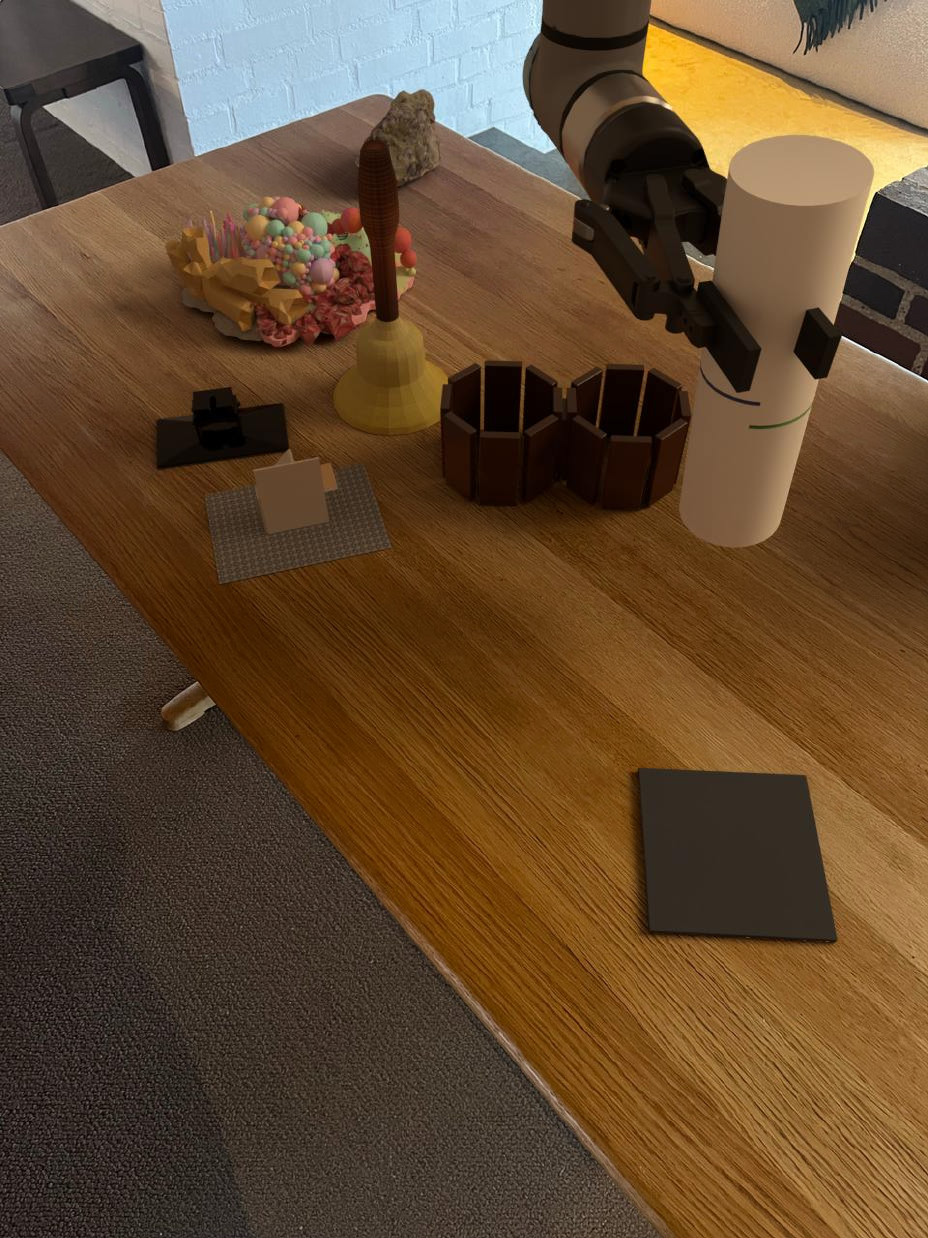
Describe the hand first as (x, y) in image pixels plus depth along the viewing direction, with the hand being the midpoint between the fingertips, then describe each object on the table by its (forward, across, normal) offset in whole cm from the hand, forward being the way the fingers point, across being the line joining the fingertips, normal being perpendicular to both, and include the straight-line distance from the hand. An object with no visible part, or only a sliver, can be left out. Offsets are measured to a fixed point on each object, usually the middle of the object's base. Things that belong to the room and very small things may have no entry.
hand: (788, 363), depth 51 cm
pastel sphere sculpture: (-63, +22, -30) cm, 73 cm away
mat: (+14, +2, -30) cm, 33 cm away
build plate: (-39, +32, -30) cm, 59 cm away
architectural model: (-25, +27, -30) cm, 48 cm away
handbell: (-41, +15, -30) cm, 53 cm away
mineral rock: (-85, +6, -30) cm, 90 cm away
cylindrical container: (-6, -3, -18) cm, 19 cm away
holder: (-26, +2, -30) cm, 40 cm away
